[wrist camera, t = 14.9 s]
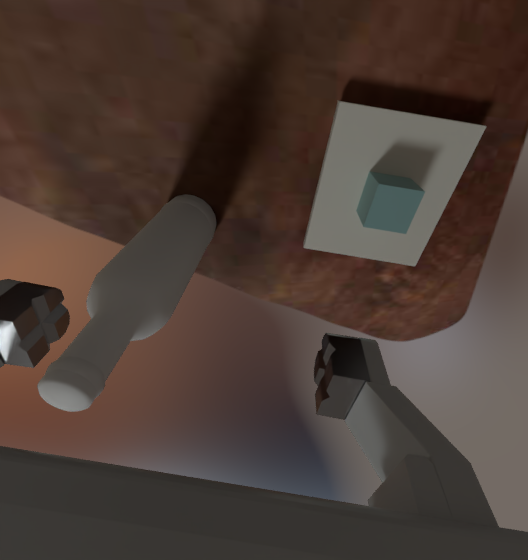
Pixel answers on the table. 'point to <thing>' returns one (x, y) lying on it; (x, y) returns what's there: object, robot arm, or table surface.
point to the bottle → (131, 300)
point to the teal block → (389, 202)
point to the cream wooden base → (393, 161)
